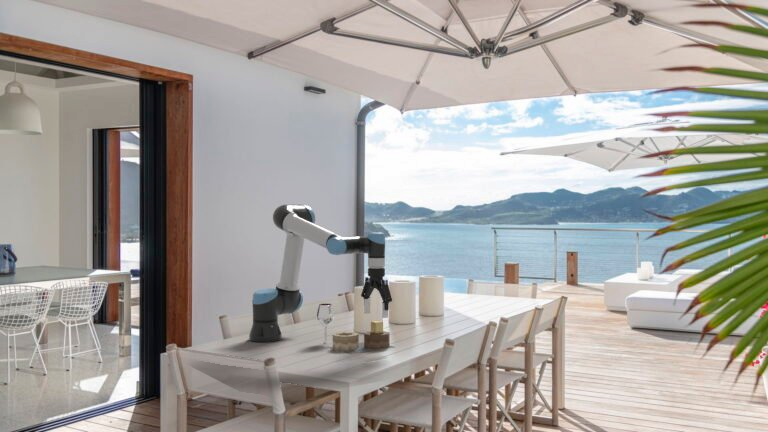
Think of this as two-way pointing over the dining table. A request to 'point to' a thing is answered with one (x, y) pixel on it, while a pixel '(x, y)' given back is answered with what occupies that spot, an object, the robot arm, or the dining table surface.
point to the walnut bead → (376, 340)
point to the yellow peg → (376, 327)
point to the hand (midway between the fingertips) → (376, 315)
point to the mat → (360, 349)
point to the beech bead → (345, 341)
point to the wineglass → (325, 316)
